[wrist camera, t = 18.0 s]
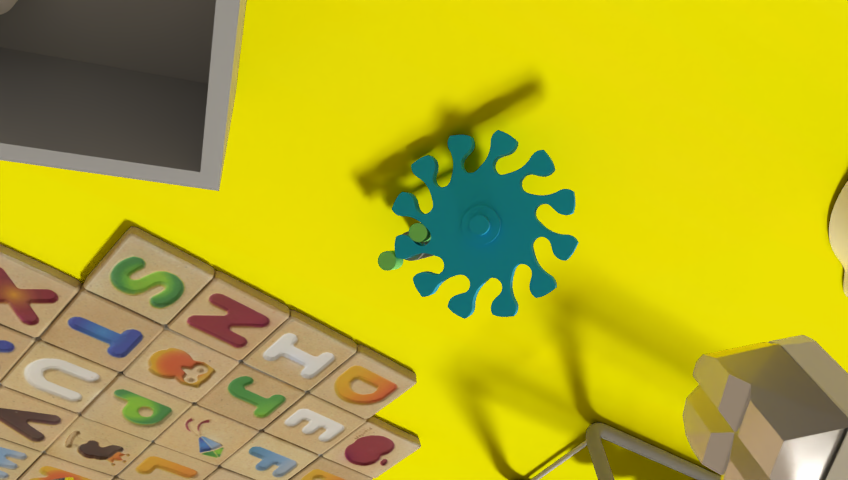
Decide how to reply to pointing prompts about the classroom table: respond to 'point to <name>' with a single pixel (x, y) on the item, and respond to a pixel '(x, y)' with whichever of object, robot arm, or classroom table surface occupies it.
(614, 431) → the newton's cradle
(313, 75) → the classroom table surface
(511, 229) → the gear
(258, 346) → the alphabet tiles
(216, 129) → the grey open box
